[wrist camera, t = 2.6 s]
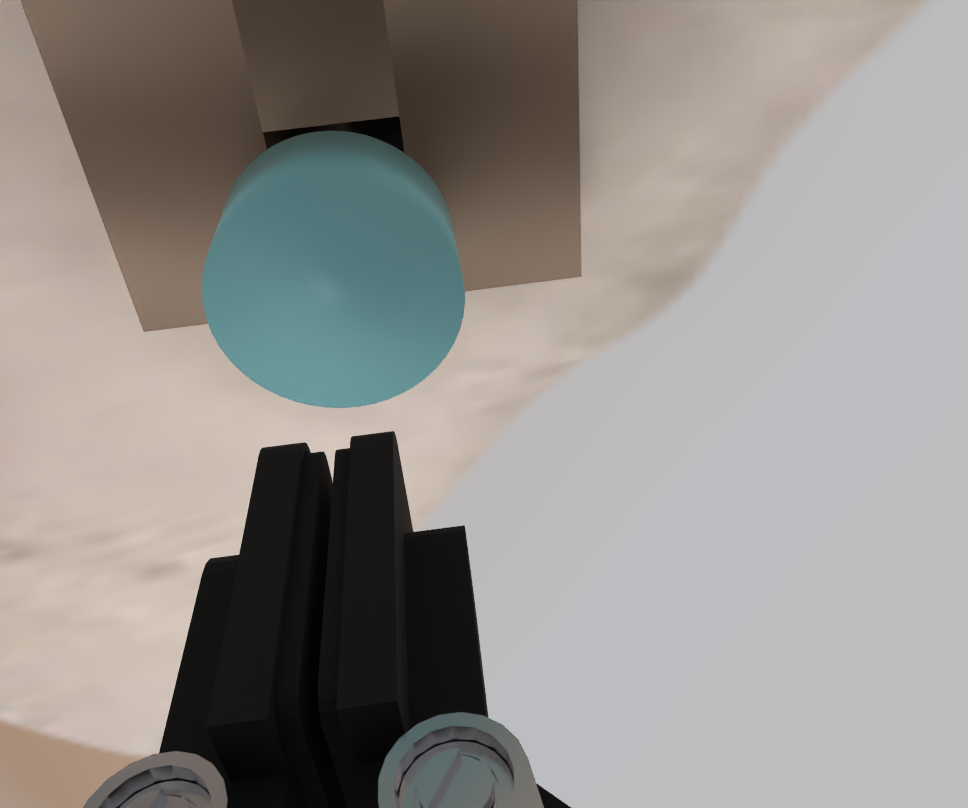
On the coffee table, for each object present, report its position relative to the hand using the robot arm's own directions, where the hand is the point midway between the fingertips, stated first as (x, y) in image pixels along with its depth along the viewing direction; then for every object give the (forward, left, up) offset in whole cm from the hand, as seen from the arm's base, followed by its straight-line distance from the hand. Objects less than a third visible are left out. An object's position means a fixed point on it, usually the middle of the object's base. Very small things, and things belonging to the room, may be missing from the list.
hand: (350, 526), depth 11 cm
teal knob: (0, 0, -12) cm, 12 cm away
